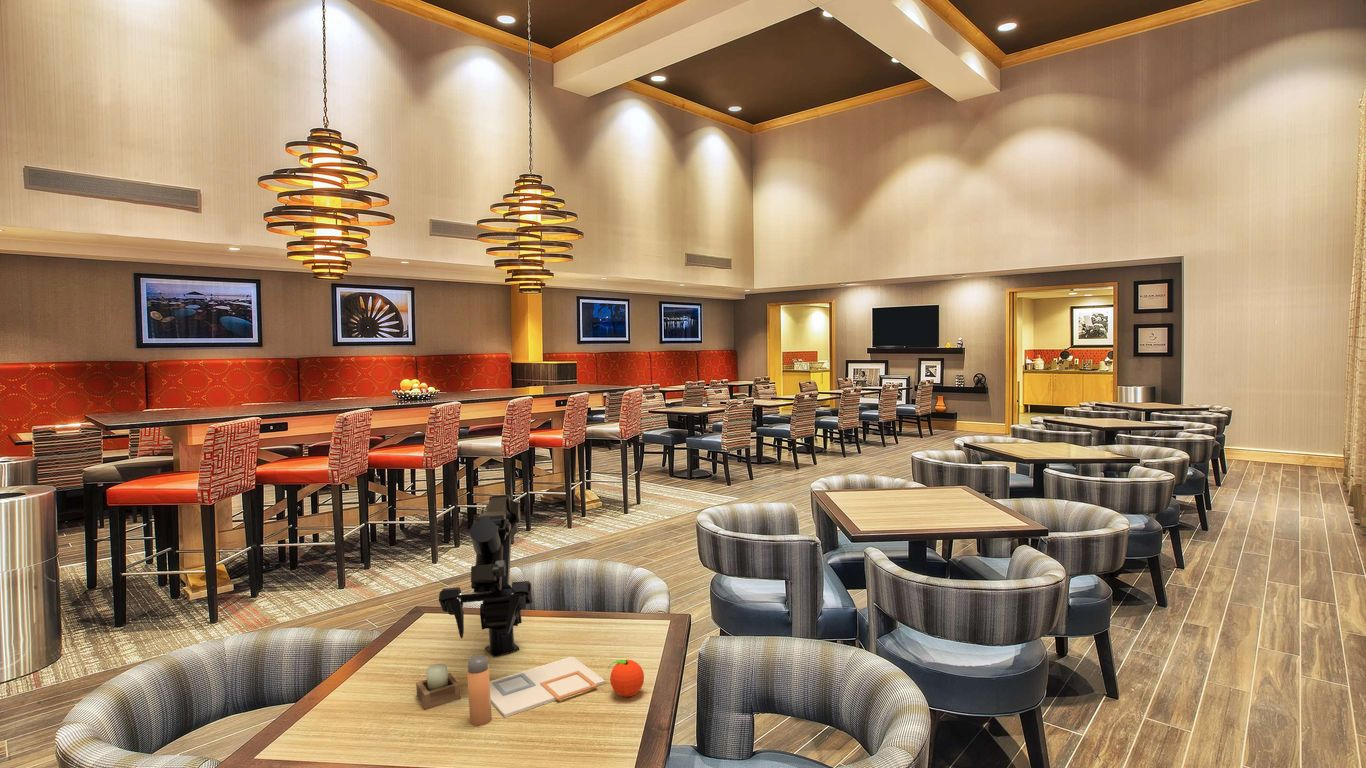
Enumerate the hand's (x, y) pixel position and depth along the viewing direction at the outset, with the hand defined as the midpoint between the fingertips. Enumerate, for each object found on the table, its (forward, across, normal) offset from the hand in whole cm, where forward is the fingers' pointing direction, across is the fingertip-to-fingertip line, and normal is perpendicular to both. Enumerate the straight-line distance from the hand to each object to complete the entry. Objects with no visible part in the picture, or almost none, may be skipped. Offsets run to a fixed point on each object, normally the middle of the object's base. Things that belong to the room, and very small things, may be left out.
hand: (484, 635), depth 139 cm
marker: (+15, 0, +4) cm, 16 cm away
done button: (+5, -10, +10) cm, 16 cm away
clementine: (+13, +28, +6) cm, 31 cm away
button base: (+7, -10, +12) cm, 17 cm away
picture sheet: (+7, +10, +12) cm, 17 cm away
